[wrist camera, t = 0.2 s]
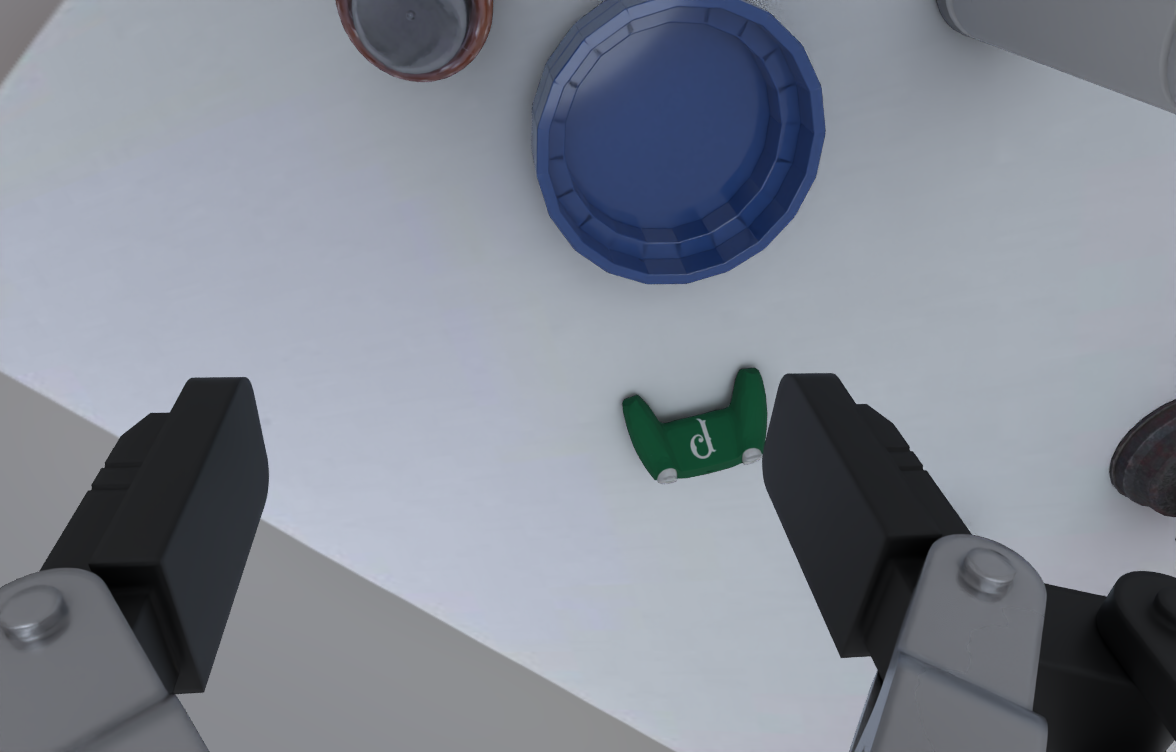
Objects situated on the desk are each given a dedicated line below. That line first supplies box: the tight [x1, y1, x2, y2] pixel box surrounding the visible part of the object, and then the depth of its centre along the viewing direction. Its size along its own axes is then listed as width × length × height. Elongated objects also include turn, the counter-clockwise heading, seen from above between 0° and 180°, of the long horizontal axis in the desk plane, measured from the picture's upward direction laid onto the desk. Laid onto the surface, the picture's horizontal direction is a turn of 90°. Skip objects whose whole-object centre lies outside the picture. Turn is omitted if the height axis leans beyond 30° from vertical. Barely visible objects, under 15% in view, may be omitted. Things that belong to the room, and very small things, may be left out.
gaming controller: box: [622, 368, 767, 484], centre depth 52 cm, size 9×4×6 cm
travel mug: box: [937, 0, 1176, 114], centre depth 32 cm, size 6×7×20 cm
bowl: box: [531, 0, 826, 284], centre depth 40 cm, size 14×14×4 cm
